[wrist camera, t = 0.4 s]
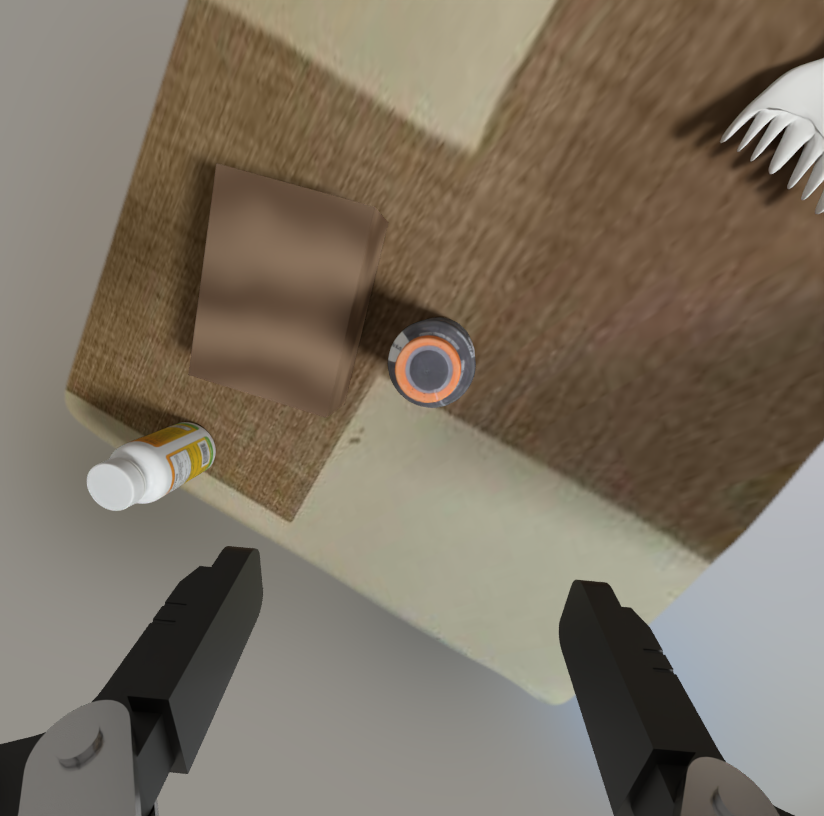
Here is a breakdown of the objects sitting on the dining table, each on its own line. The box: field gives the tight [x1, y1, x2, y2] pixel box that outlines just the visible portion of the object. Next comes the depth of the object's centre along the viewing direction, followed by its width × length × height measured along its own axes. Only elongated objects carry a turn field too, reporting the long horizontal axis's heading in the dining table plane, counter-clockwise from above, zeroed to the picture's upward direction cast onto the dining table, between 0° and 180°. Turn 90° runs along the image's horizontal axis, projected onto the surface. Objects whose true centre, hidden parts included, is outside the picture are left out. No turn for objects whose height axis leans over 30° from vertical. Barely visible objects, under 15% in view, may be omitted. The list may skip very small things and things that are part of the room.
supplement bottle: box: [87, 422, 216, 511], centre depth 35 cm, size 5×5×10 cm
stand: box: [189, 163, 388, 418], centre depth 33 cm, size 16×12×5 cm
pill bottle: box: [388, 317, 476, 408], centre depth 29 cm, size 6×6×11 cm
